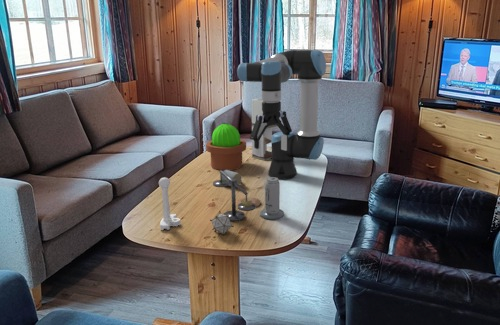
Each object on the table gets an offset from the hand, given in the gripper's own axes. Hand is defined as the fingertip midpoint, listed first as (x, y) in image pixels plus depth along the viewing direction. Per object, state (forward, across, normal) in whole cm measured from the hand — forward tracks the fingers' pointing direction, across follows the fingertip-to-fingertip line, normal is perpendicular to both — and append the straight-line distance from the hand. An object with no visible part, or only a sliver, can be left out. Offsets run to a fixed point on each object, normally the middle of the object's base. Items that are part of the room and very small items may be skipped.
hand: (271, 153), depth 184 cm
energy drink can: (+26, -1, -2) cm, 26 cm away
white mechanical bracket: (+27, -39, +17) cm, 50 cm away
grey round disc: (+27, -1, -2) cm, 27 cm away
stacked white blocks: (+28, +52, +67) cm, 89 cm away
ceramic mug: (+27, +8, +39) cm, 48 cm away
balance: (+26, -15, +6) cm, 31 cm away
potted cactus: (+27, +24, +67) cm, 76 cm away
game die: (+27, -27, -2) cm, 38 cm away
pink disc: (+27, -1, +14) cm, 30 cm away
